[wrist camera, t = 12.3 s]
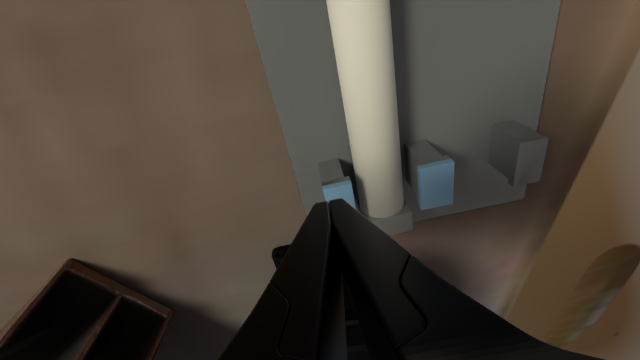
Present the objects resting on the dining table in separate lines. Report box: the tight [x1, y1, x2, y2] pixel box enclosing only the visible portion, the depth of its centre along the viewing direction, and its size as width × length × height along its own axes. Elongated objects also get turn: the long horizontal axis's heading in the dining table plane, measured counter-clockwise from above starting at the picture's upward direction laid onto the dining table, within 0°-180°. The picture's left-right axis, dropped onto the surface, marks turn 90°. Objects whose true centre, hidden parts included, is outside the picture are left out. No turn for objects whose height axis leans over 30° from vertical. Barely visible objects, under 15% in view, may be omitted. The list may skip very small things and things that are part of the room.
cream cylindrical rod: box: [326, 0, 413, 236], centre depth 16 cm, size 21×3×3 cm, turn 12°
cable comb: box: [245, 0, 561, 222], centre depth 16 cm, size 17×25×4 cm
